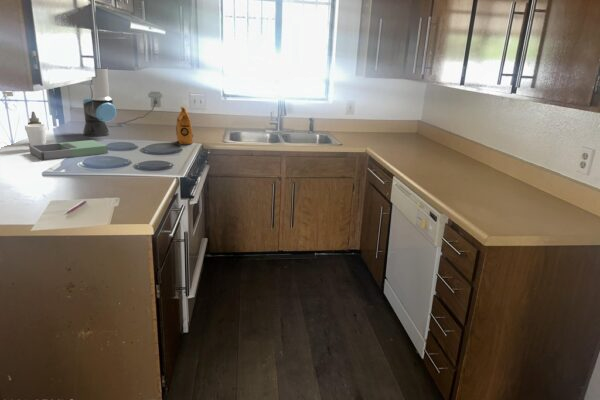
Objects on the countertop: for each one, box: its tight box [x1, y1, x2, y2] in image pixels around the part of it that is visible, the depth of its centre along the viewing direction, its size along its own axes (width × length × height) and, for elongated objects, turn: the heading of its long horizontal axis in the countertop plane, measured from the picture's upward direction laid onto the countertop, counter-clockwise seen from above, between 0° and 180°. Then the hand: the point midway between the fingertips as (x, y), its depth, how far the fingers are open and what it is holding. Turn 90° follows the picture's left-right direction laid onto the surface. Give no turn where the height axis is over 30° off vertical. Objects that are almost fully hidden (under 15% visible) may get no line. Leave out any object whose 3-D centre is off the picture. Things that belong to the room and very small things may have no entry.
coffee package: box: [175, 106, 194, 145], centre depth 265 cm, size 10×12×22 cm
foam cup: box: [24, 123, 47, 146], centre depth 228 cm, size 10×9×13 cm
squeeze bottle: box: [27, 111, 42, 125], centre depth 241 cm, size 8×8×18 cm
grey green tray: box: [28, 139, 109, 161], centre depth 226 cm, size 32×19×4 cm, turn 136°
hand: (7, 95), depth 227 cm, fingers open, 13 cm apart
